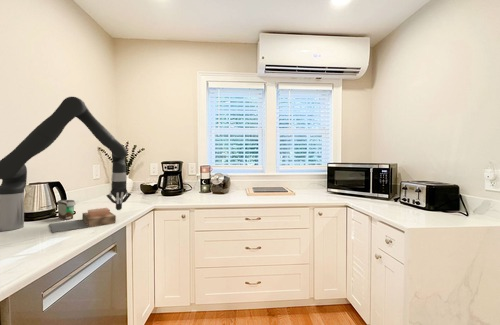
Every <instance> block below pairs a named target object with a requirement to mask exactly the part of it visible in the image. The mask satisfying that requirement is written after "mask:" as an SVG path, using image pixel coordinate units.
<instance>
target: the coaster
mask: <svg viewBox="0 0 500 325" xmlns="http://www.w3.org/2000/svg"><path fill="white" fill-rule="evenodd" d="M87 212H88V215H89V216H90V217H93V216H100V215H108V214H110V212H111V210H110V209H109V208H108V207H100V208H92V209H87Z"/></svg>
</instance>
